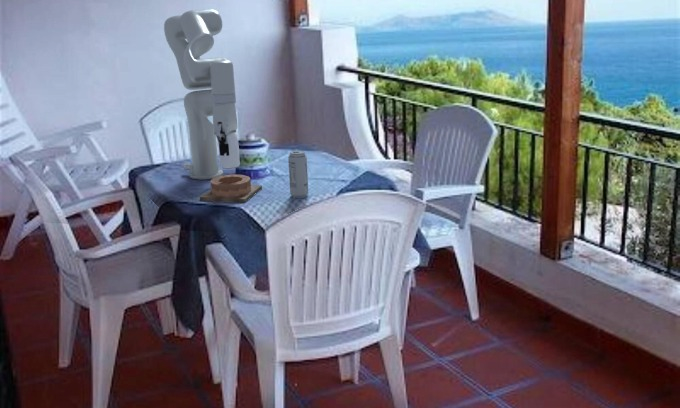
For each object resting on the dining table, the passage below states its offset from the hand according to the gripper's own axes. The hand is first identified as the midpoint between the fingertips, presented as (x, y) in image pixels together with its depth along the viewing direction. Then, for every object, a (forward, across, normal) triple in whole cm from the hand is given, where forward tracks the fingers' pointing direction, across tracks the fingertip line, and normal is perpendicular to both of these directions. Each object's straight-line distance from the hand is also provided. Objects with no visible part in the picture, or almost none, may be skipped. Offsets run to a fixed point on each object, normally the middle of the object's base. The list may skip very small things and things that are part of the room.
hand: (228, 152), depth 244 cm
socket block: (+15, 0, 0) cm, 15 cm away
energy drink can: (+15, -2, +23) cm, 28 cm away
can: (+5, 0, 0) cm, 5 cm away
